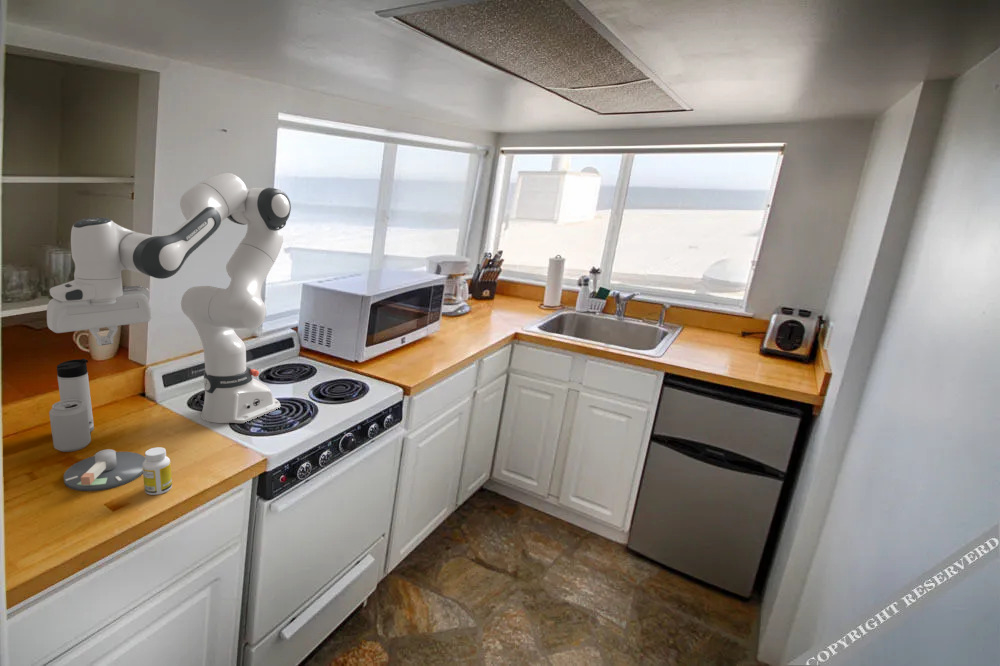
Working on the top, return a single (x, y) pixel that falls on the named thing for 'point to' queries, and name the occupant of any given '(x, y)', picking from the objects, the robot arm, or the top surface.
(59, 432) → the can
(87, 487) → the dial plate
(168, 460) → the supplement bottle
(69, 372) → the travel mug
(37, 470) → the top surface
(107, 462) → the needle
